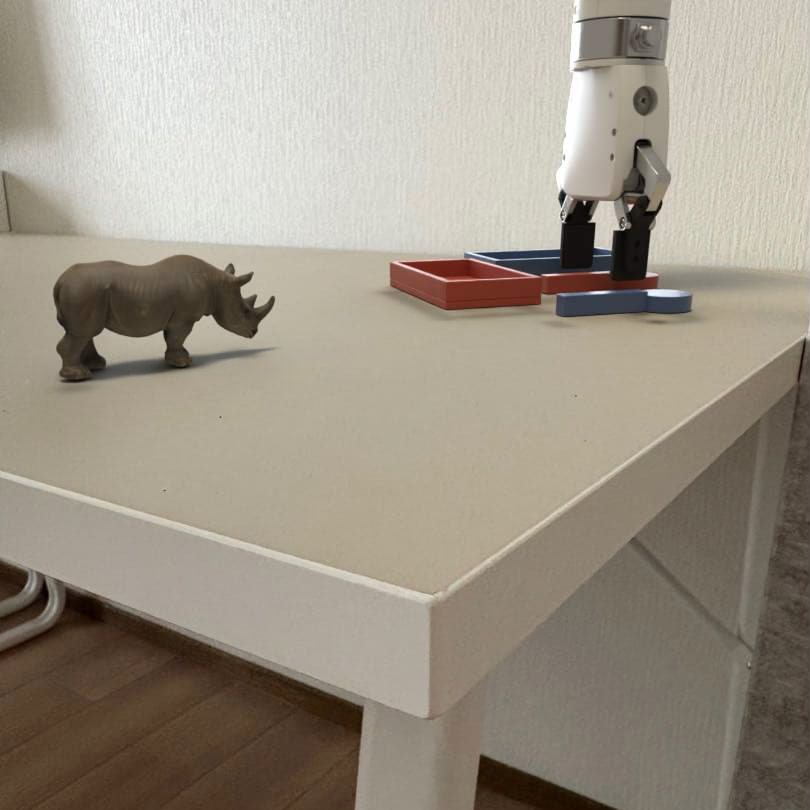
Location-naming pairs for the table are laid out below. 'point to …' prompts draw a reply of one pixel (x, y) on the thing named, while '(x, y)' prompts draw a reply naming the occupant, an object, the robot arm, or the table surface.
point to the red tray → (465, 283)
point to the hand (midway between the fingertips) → (600, 273)
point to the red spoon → (593, 282)
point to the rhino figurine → (148, 306)
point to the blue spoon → (623, 302)
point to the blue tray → (540, 260)
